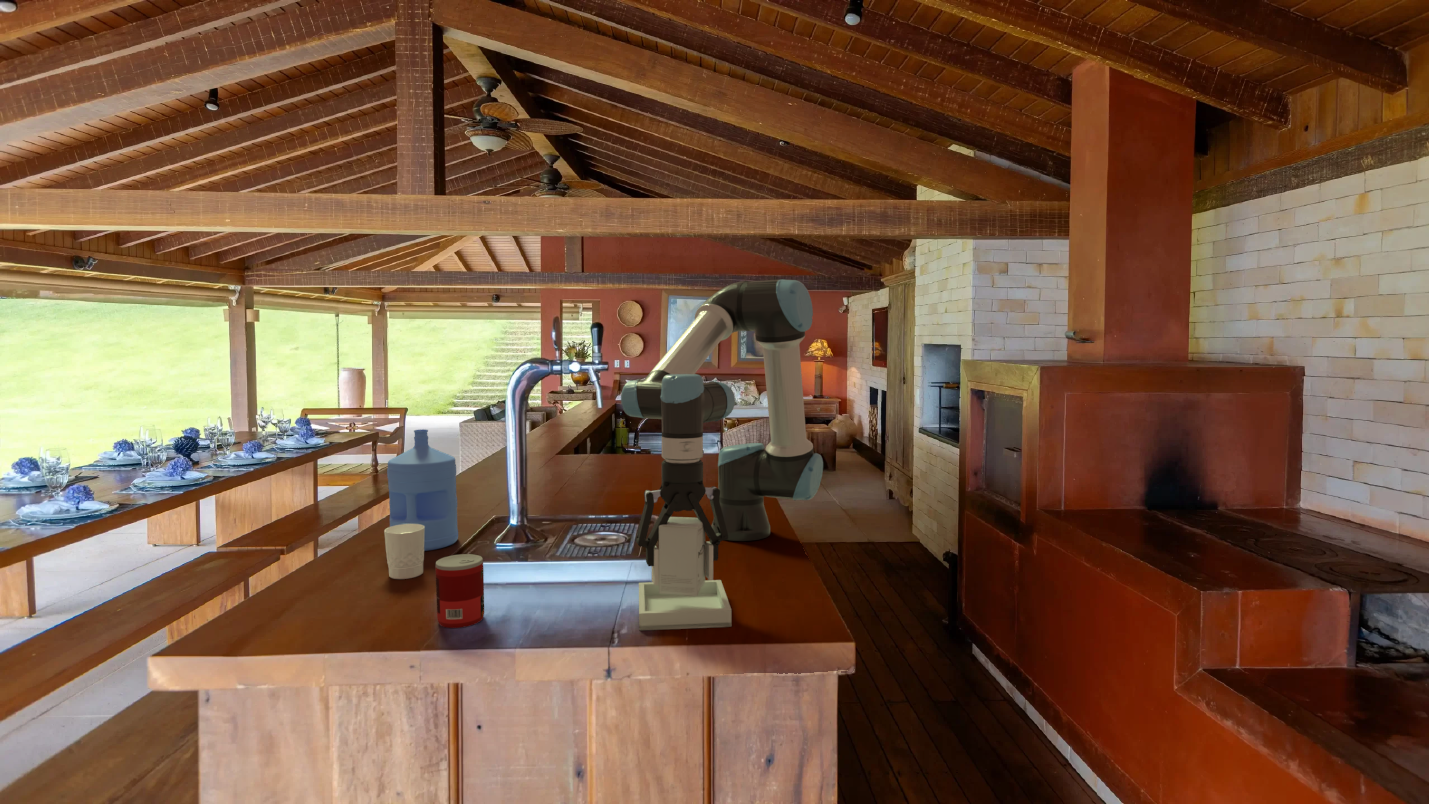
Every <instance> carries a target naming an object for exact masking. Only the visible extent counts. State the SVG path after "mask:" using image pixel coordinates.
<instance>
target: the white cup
mask: <svg viewBox="0 0 1429 804" xmlns="http://www.w3.org/2000/svg"><path fill="white" fill-rule="evenodd" d="M383 532H384V533H383V534H384V543H385V552H386V560H387V561H386V562H387V563H386V564H387V568H388V575H389V577H390V578H391V579H393V580H405V579H406V580H407V579H412V578H417V577H419V576H421V575H422V574H424V560H425V551H424V533H425V526H423V525H420V524H402V525H395V526H391V527H390V526H388V527H387V528H385V529H384V530H383Z"/></svg>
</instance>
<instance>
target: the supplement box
mask: <svg viewBox="0 0 1429 804" xmlns="http://www.w3.org/2000/svg"><path fill="white" fill-rule="evenodd" d="M705 542H706V532H705V529H704V526H703V524H702V522H701V521H700V520H699V519H698V518H697V517H688V516H671V517H670V518H669V520H668V522H667V524H664V525H660V526H659V539H658V549H659V593H661V594H673V595H687V596H697V595H698V593H699V591H700V589H701V588H702V586H703V585H704V584H705V580H706V576H705Z"/></svg>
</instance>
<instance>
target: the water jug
mask: <svg viewBox="0 0 1429 804" xmlns="http://www.w3.org/2000/svg"><path fill="white" fill-rule="evenodd" d="M428 432H429V429H426V428H425V429H424V428H423V429H415V430H413V433H414V436H413V440H414V446H413V447H412V448H410V449H408V450H405V451H404V452H402V453H401V454H399V455H396V456H395V457H393V458H390V459H389V460H388V461H387V469H386V471H387V472H386V473H387V474H386V476H387V483H388V495H389V502H388V503H389V527H391V526H395V525H402V524H420V525H423V526H425V533H424V552H427V551H434V550H439V549H443V548H446V547H449V546H451V545H454V544H455V543H456V542H457V541H458V539H459V529H458V497H457V464H456V458H455V457H454V456H453V455H450V454H449V453H446V452H443V451H440V450H438V449H435V448H433V447H431V446H430V445H429V435H428Z"/></svg>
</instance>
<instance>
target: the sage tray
mask: <svg viewBox="0 0 1429 804" xmlns="http://www.w3.org/2000/svg"><path fill="white" fill-rule="evenodd" d="M638 622H639V623H638V625H639V629H638V630H639V631H659V630H681V629H683V630H684V629H685V630H686V629H707V628H709V629H710V628H729V627H731V628H732V608H731V605H730V602H729V599H728V596H727V593H726V591H725V588H724V585H723V583H722V580H721V579H713V580H709V579H707V580H706V579H705V584H704V585H703V586H702V588H701V589H700V591H699V593H698V595H697V596H687V595H673V594H661V593H659V585H654V584H653V582H652V581H651V582H650V581H649V582H638Z"/></svg>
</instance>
